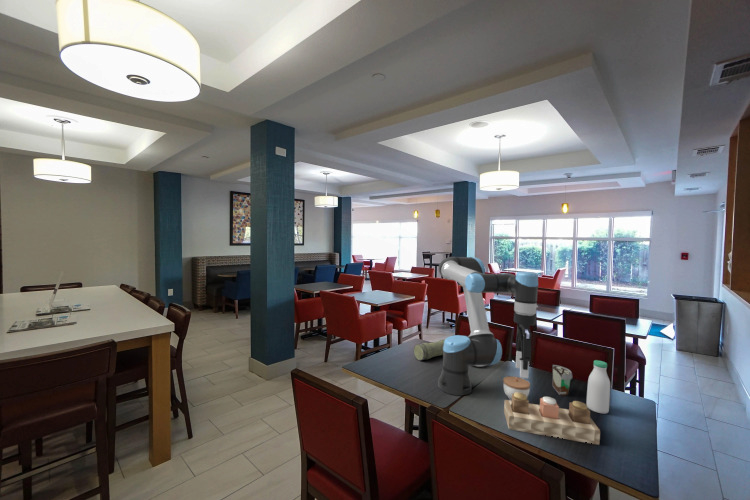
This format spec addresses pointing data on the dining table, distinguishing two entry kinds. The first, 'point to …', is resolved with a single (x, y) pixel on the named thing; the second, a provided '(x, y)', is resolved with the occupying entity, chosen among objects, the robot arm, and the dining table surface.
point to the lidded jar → (515, 386)
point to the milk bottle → (598, 388)
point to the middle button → (549, 407)
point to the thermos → (429, 350)
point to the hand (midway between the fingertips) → (521, 372)
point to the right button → (579, 412)
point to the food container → (561, 379)
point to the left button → (520, 403)
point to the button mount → (551, 424)
